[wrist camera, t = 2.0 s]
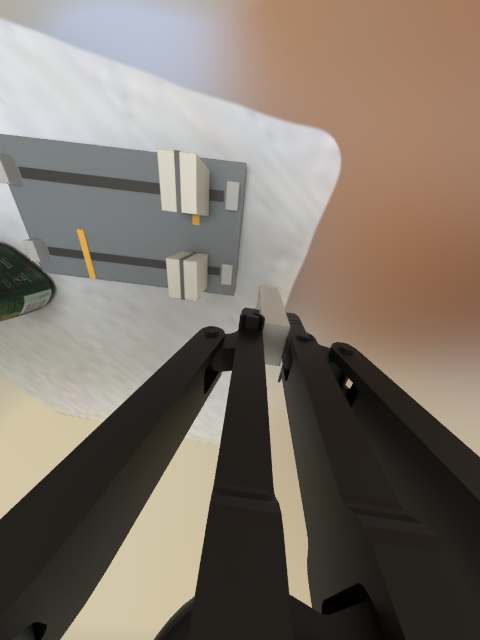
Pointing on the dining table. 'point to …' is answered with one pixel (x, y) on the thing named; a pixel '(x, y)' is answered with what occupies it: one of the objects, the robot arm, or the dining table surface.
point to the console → (118, 212)
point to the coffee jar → (20, 285)
